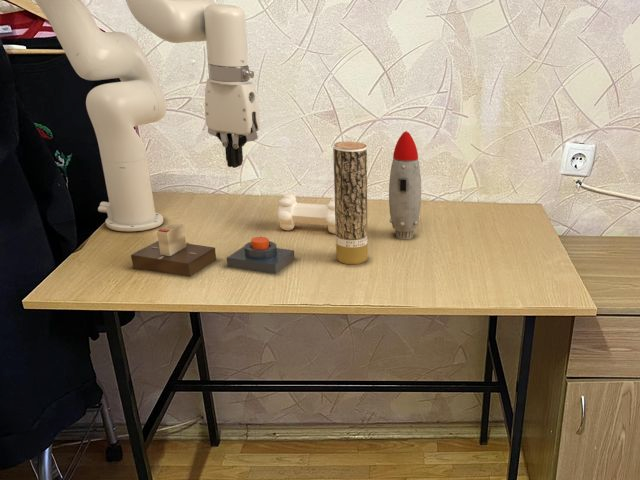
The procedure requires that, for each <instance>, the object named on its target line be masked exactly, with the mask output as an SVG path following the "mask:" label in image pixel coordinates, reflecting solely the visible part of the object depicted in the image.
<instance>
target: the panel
mask: <svg viewBox="0 0 640 480" xmlns="http://www.w3.org/2000/svg"><path fill="white" fill-rule="evenodd" d="M186 246H187V247H185V248H183V249H182V250H180V251H178V252H177V253H175V254H173V255H171V256H165V255H161V254H160V248H159V241H158V240H156V241H155V242H153V243H151V244H149V245H147V246H145V247H143V248H141V249H139V250H137V251H135V252H134V253H132V254H131V255H130V257H131V262H132V268H133V269H134V270H140V271H150V272H157V273H163V274H169V275H173V276H174V275H175V276H182V277H188V278H192V277H193V276H194V275H196V274H197V273H199V272H200V271H202V270H203V269H205V268H206V267H208V266H210V265H212V264H213V263H214V262H216V261H217V254H216V247H214V246H207V245H200V244H193V243H189V242H187V241H186Z"/></svg>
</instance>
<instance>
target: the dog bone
mask: <svg viewBox="0 0 640 480" xmlns="http://www.w3.org/2000/svg"><path fill="white" fill-rule="evenodd" d="M277 201H278V202H277V203H278V210H277V215H276V217H277V219H278V222H279V227H280V229H282V230H284V231H292V230H293V229H294V228H295V226H296V225H297V224H308V225H309V224H311V225H322V226H323V225H325V226H327V230H328V232H329V233H331V234H333V235H334V234H335V235H336V226H335V196H334V197H332V198H331V199H330V200H329V202H328V203H327V204H319V203H303V202H297V197H296V196H295V195H294V194H293V193H285V194H283V195H282V196H281V198H280V199H279V200H277Z"/></svg>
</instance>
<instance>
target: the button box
mask: <svg viewBox="0 0 640 480" xmlns="http://www.w3.org/2000/svg"><path fill="white" fill-rule="evenodd" d="M295 260H296V259H295V250H294V249H287V248H279V247H277V244H276V243H275V242H273V241H270V240H269V248H267V249H253V248H252V246H251V241H249V242H247V243H245V244H244V245H243V246H242V247H240V248H239V249H237V250H236V251H234V252H233V253H231V254H229V255H228V256H227V257H226V264H227V268H232V269H233V268H234V269H238V270H245V271H251V272H260V273H265V274H271V275H277V274H279V272H281V271H282V270H283V269H285V268H286V267H287V266H288V265H290V264H291V263H292V262H294V261H295Z"/></svg>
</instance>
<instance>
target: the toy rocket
mask: <svg viewBox="0 0 640 480" xmlns="http://www.w3.org/2000/svg"><path fill="white" fill-rule="evenodd" d="M392 155H393V156H392V161H391V166H390V172H389V182H388V183H389V185H388V207H389V216H390V219H389V223H390V224H391V225H392V230H394V231H395V237H396V238H397V239H400V240H410V239H412V238H413V237H414V234H415V233H414V232H415V231H416V230H417V228H418V224H419V220H420V216H421V215H420V214H421V205H422V176H421V175H422V173H421V167H420V161H419V153H418V147H417V146H416V143H415V141H414V138H413V137H412V135H411V133H410V132H409V131H407V130H406V131H403V132H402V133H401V135H400V136H399V138H398V140H397V142H396V144H395V146H394V150H393V153H392Z"/></svg>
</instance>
